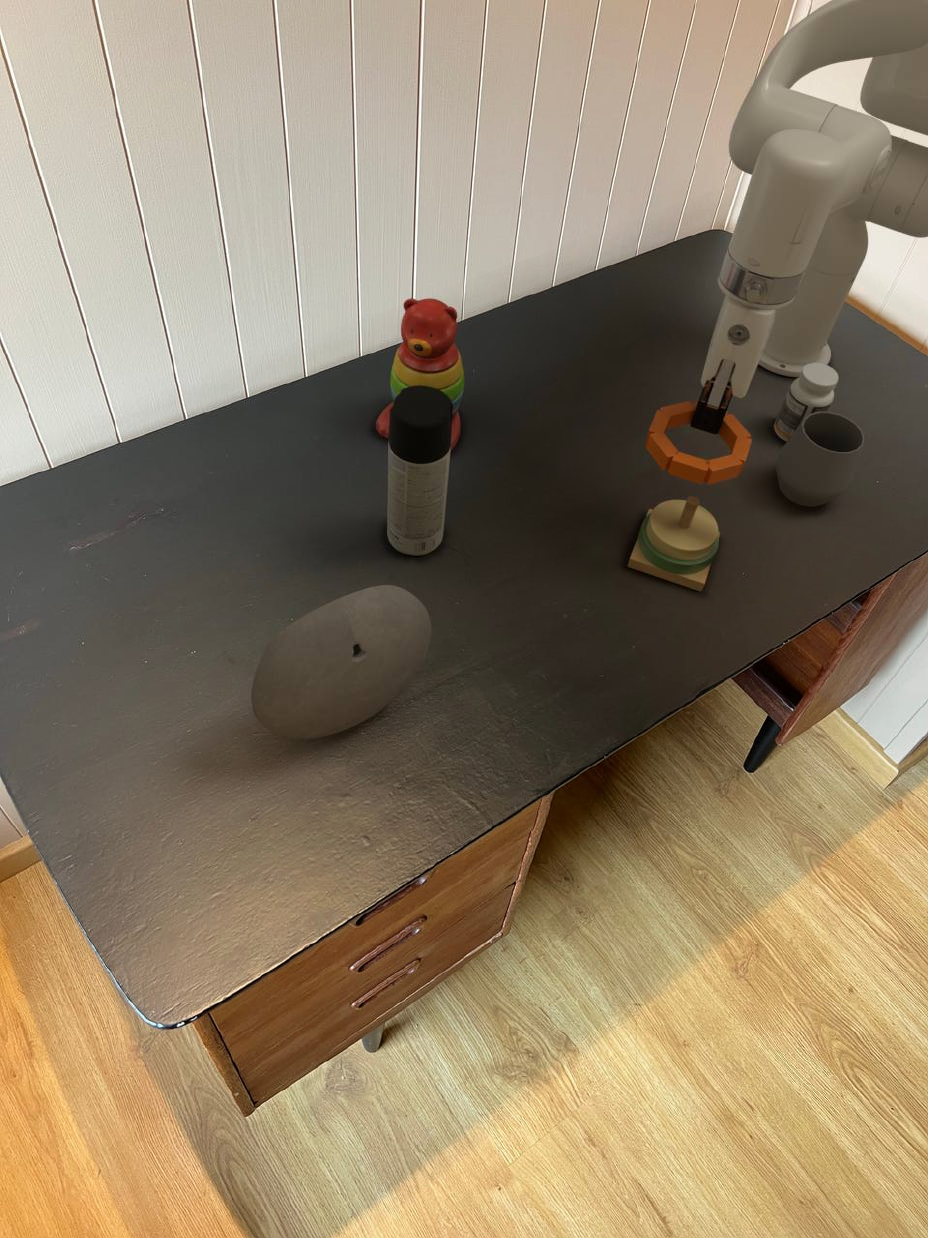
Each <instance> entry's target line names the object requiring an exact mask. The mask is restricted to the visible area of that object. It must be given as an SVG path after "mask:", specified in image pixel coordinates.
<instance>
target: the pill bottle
mask: <svg viewBox="0 0 928 1238" xmlns="http://www.w3.org/2000/svg"><path fill="white" fill-rule="evenodd" d="M838 382H839V374H838V371H836V370H835V369H834V368H833V367H832V366H829V365H825V364H821V363H810V364H807V365H805V366H804V367H803V369H802V371H801V373H800V375H799V377H796V378H795V379H794V380H793V382H792V383H791V384H790V386H789V388H788V391H787V393H786V396H785V397H784V400H783V402H782V405H781V407H780V409H779V411H778V414H777V416H776V419H775V421H774V424H773V428H774V431H775V433H776V435H777V436H778V438H780V439H781V440H783V441H784V442H787V441H788V440H789V438H790V437H791V436H792V434H793V433H794V432H795V430H796V429H797V428H798V426H799V425H800V424H801V422H802V421H803V420H804V419H805V418H806V417H807V416H808V415H809V414H812V413H815V412H829V410H830V407H831V406H832V404H833V402H834V399H835V391H834V390H835V388H836V386H837V384H838Z"/></svg>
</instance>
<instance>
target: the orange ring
mask: <svg viewBox="0 0 928 1238" xmlns="http://www.w3.org/2000/svg"><path fill="white" fill-rule="evenodd" d="M697 403H698V401H696V400H694V402H691V400H688V401H682V402H678V403H675V404H669V405H666V406H662V407H660V409H657V410H656V412H655V415H654V417H653V420H652V421H651V424H650V426H649V429H648V432H647V435H646V438H645V442H644V445H645V450H647V452H648V453H649V455H650V456H651V457H652V458H653V460H654V461H655V463H657V465H658V466H659V467H660V469H661V470H662V471H667V474H668V475H669V476H673V477H677V478H680V479H683V480H686V481H689V482H692V483H695V484H698V485H703V483H705V485H706V486H709V485H712V484H716V483H719V482H724V481H728V480H732V479H735V478H738V475H741V474H742V470H743V468H744V466H745V464H746V461H747V459H748V455H749V452H750V448H751V445H752V442H753V439H752V438H751V437H752V435H751V433H750V432H749V431H748V430H747V429H746V428H745V426H744V425H742V424H741V422H740V421H739V420H738V419H737V417H736V416H735V415H734V414H733V413H730V414H728V412H729V411H728V410H727V412H726V414H725V417H724V420H723V422H722V425H721V427H720V430H719V432H718V434H717V435H718V436H719V437H720V438H721V440H723V442H724V443H725V444H726V446H727V447H728V448H729V449H730V450H731V451H730V454H728V455H723V456H720V457H716V458H713V459H703V458H700V457H697V456H694V455H690V454H688V453H685V452H681V451H679V450H678V448H676V447H675V445H674V443H672V441H671V440H670V439H669V438H668V436H667V435H666V432H667V430H670V429H675V428H679V427H683V426H687V425H690V423H691V420H692V418H693V415H694V412H695V409H696V406H697Z"/></svg>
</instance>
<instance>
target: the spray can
mask: <svg viewBox="0 0 928 1238" xmlns="http://www.w3.org/2000/svg"><path fill="white" fill-rule="evenodd" d="M393 402H394V404H393V407H392V408H391V409H390V418H389V439H388V444H387V448H388V449H387V457H388V458H387V511H386V512H387V514H386V515H387V516H386V518H387V519H386V525H387V526H386V529H387V530H386V534H387V538H388V539H387V540H388V542H389V543H390V545H391V547H392V548H394V549H395V550H396V551H397V552H399V553H401V554H403V555H407V556H412V557H413V556H414V557H416V556H418V557H420V556H427V555H428V554H431V553H432V552H433V551H435V550H436V549H437V548H438V547H439V546H440V545H441V544H442V541H443V537H444V532H445V519H446V509H447V508H446V507H447V506H446V505H447V496H448V495H447V494H448V484H449V473H450V472H449V471H450V461H451V452H452V451H451V435H452V416H453V403H452V401H451V399H450V398H449V397H448V396H447V395H446V394H445V393H444V392H442V391H441V390H439V389H436V388H433V387H429V386H423V385H417V386H411V387H407V388H404V389H402V390H401V392H400V394H399V395H397V396H396V398H395V400H393Z"/></svg>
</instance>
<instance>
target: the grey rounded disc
mask: <svg viewBox="0 0 928 1238" xmlns="http://www.w3.org/2000/svg"><path fill="white" fill-rule="evenodd" d="M431 639H432V621H431V618H430V615H429V612H428V610H427V608H426V606H425V605H424V604H423V602H421V600H420V599H419V598H417V596H415V595H414V594H412V593H411V592H410V591H408V590H406V589H405V588H402V587H400V586H397V585H394V584H380V585H374V586H371V587H367V588H363V589H360V590H357V591H355V592H351V593H349V594H346V595H343V596H342V597H339V598H337V599H334V600H333V601H330V602H328V603H325V604H324V605H322V606H320V607H318V608H316V609H314V610H311V611H310V612H308V613H306V614H305V615H302V616H301V617H300V618H298V619H297V620H295V621H293V622H292V623H290V624H289V625H287V626H286V627H284V628H283V629H282V630H280V631H279V632H278V633H276V634H275V635H274V636H273V637H272V638H271V639H270V640H269V641H268V643H267V644H266V646H265V648H264V650H263V652H262V655H261V657H260V658H259V662H258V664H257V667H256V670H255V674H254V677H253V681H252V684H251V685H252V686H251V692H250V693H251V694H250V700H251V707H252V710H253V713H254V716H255V718H256V720H257V721H258V722H259V724H260V725H261V726H262V727H263V728H264V729H266V730H267V731H268V732H270V733H271V734H273V735H276V736H278V737H282V738H285V739H292V740H310V739H319V738H324V737H327V736H331V735H334V734H335V735H336V734H338V733H341V732H344V731H346V730H349V729H351V728H353V727H355V726H357V725H359V724H361V723H363V722H365V721H366V720H368V719H370V718H372V717H373V716H375V715H376V714H377V713H379V712H380V711H382V710H383V709H384V708H386V707H388V705H390V704H391V703H392V702H394V700H396V699H397V698H398V697H399V696H400V695H401V694H402V693H403V692H404V691H405V690H406V689H407V687H408V686H410V684H412V681H413V680H414V679H415V678H416V676H417V675H418V673H419V671H420V670H421V668H422V667H423V665H424V662H425V660H426V658H427V656H428V653H429V649H430V644H431Z"/></svg>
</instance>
